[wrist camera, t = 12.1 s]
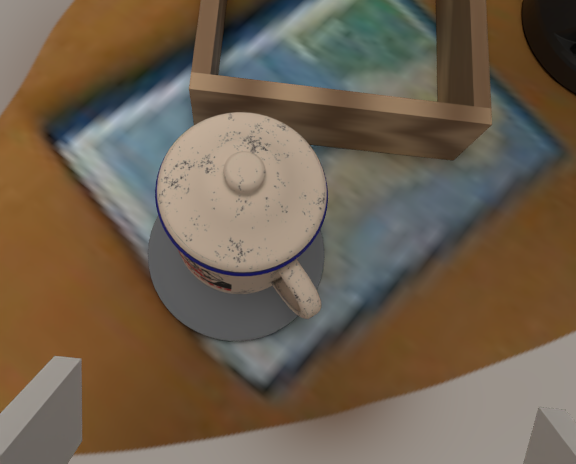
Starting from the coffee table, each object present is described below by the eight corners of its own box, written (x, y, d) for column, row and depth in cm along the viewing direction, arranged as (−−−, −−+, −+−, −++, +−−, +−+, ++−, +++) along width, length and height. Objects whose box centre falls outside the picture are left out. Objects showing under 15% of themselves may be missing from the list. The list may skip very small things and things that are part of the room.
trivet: (325, 183, 38) (328, 178, 37) (317, 347, 34) (320, 347, 33) (162, 166, 36) (160, 160, 35) (138, 334, 33) (135, 333, 32)
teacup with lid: (147, 214, 34) (107, 139, 23) (258, 149, 36) (270, 52, 25) (244, 363, 32) (251, 360, 21) (355, 285, 35) (414, 245, 23)
